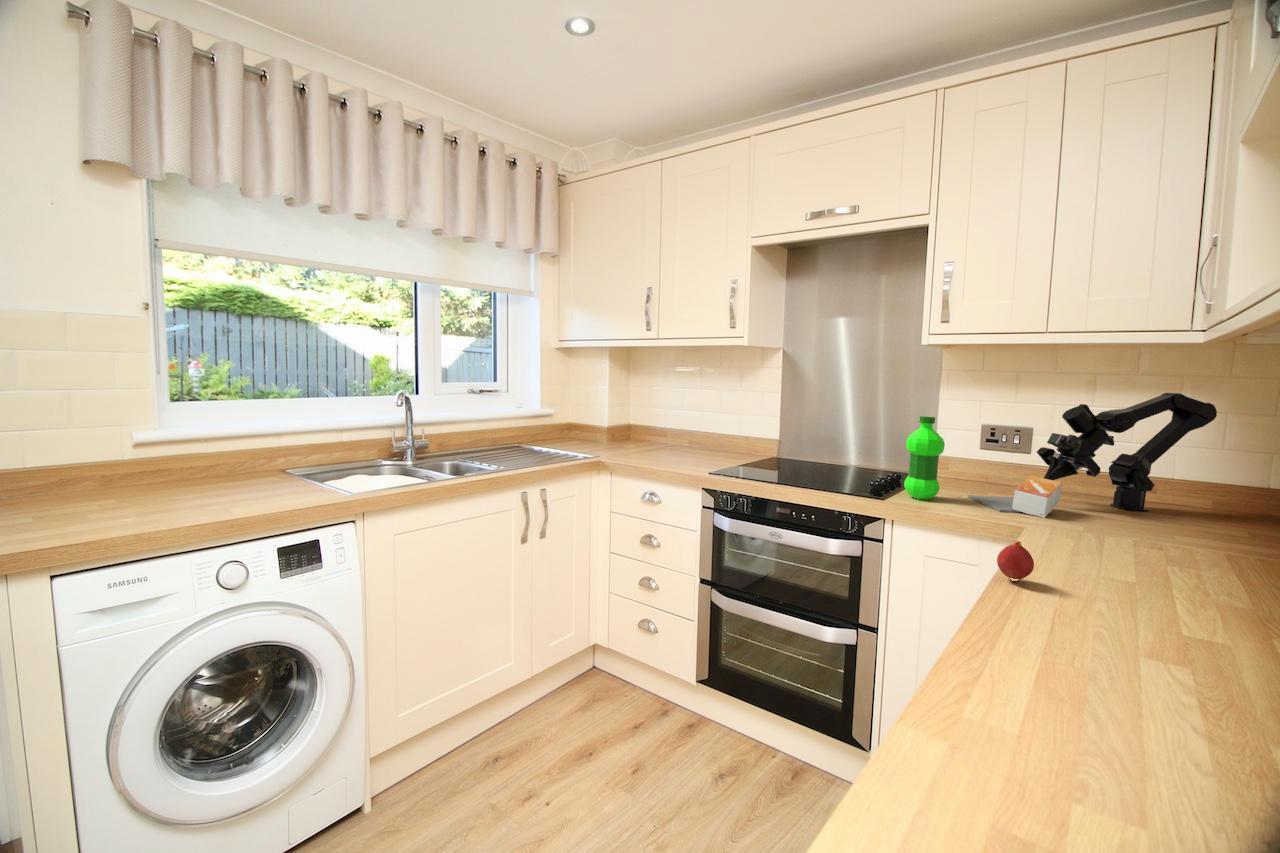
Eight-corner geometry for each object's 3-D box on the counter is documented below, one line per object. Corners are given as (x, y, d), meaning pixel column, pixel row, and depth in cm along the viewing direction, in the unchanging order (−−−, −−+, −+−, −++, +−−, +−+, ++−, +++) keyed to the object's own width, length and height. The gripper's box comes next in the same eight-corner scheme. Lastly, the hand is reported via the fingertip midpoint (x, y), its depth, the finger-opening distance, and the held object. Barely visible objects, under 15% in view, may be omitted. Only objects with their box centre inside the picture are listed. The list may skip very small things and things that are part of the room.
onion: (989, 575, 113) (992, 535, 112) (1019, 576, 113) (1023, 536, 112) (1006, 586, 107) (1011, 544, 107) (1038, 588, 107) (1043, 545, 106)
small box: (1063, 481, 164) (1048, 497, 157) (1059, 502, 167) (1044, 518, 159) (1030, 474, 170) (1014, 489, 162) (1027, 494, 172) (1011, 509, 165)
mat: (1014, 498, 181) (1014, 497, 181) (1051, 513, 164) (1051, 511, 163) (967, 497, 182) (967, 495, 182) (999, 511, 164) (999, 509, 164)
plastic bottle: (920, 493, 186) (927, 415, 183) (947, 501, 176) (954, 418, 173) (894, 494, 182) (901, 415, 180) (920, 503, 172) (927, 418, 170)
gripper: (1046, 421, 179) (1007, 455, 180) (1095, 428, 160) (1051, 466, 161) (1068, 447, 180) (1029, 481, 181) (1119, 457, 161) (1076, 495, 162)
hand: (1045, 480), depth 171 cm, fingers closed
